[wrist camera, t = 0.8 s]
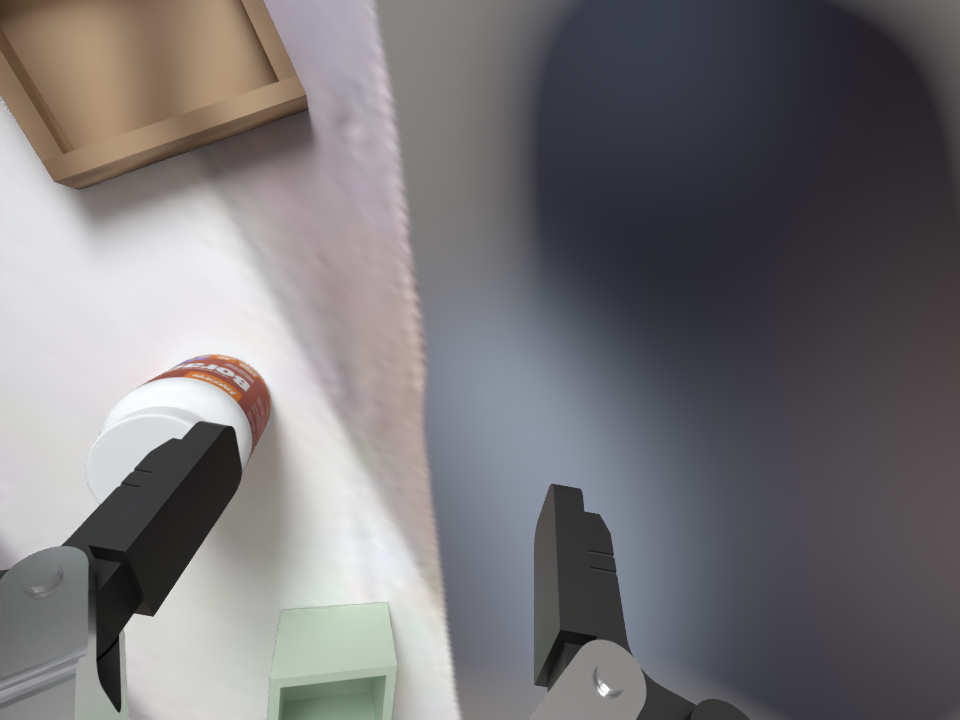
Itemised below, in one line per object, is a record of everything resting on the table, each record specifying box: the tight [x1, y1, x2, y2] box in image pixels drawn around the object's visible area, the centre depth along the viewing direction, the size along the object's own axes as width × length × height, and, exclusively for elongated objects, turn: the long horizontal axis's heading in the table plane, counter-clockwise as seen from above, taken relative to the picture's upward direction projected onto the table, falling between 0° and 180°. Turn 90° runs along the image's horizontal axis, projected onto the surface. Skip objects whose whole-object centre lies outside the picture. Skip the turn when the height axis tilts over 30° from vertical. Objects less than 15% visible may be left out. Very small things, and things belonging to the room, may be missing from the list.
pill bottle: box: [86, 354, 271, 505], centre depth 25 cm, size 6×6×11 cm
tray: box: [0, 0, 308, 190], centre depth 25 cm, size 13×10×2 cm
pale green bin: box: [267, 602, 397, 720], centre depth 32 cm, size 7×7×6 cm
